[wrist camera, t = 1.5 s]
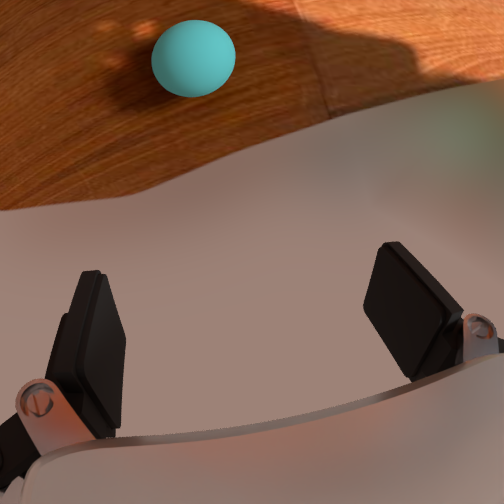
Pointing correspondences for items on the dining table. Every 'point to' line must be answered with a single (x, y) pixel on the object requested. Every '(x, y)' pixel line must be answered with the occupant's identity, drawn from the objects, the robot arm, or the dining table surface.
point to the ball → (193, 58)
